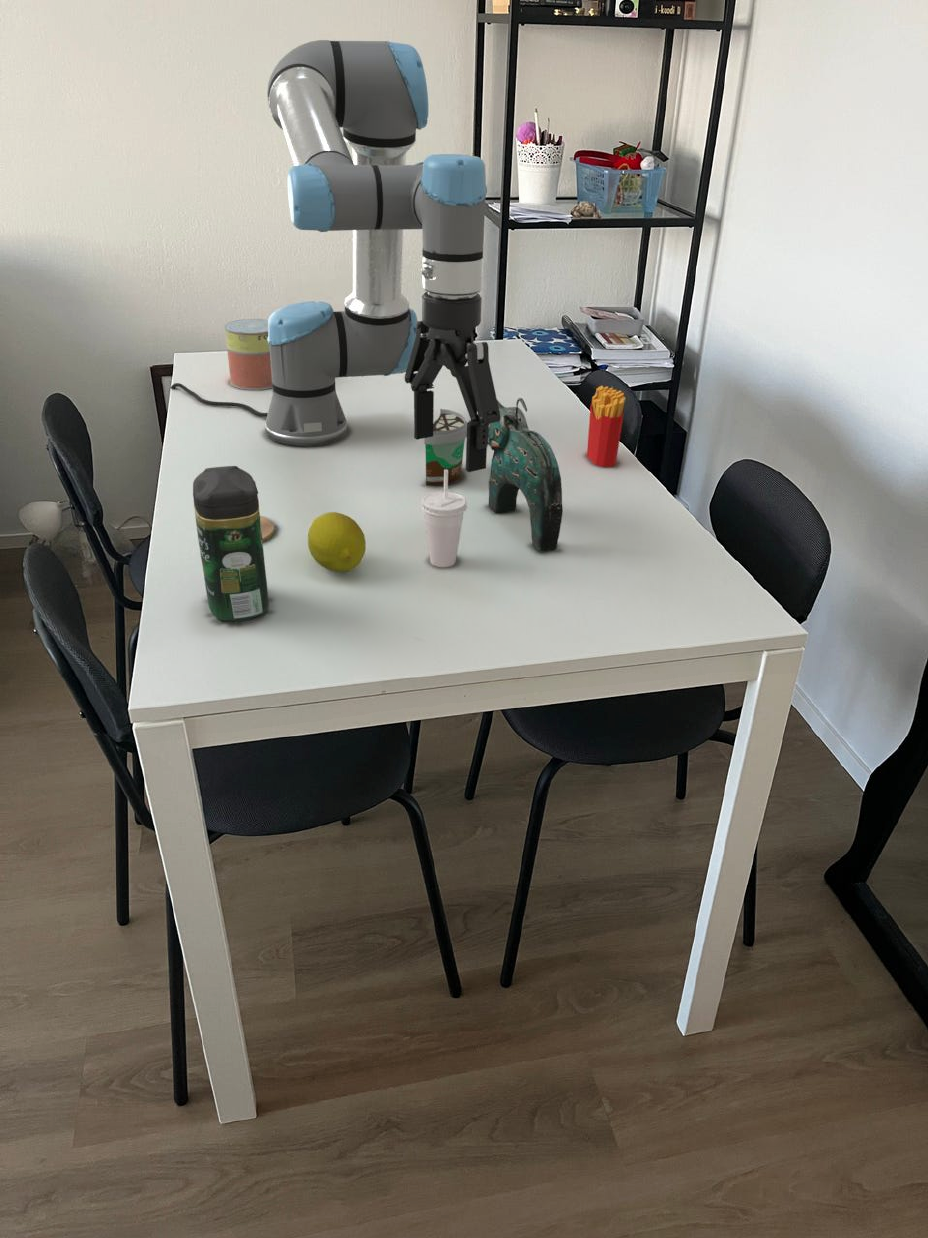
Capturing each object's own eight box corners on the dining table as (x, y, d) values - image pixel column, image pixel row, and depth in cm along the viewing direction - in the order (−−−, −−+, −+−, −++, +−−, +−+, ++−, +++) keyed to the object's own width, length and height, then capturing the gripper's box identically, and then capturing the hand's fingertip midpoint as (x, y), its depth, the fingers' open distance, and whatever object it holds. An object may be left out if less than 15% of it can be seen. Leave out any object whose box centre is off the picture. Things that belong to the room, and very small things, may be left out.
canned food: (278, 390, 200) (273, 333, 194) (224, 389, 200) (218, 331, 194) (287, 374, 210) (283, 319, 203) (236, 372, 210) (231, 317, 203)
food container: (459, 492, 158) (461, 435, 153) (424, 488, 159) (424, 432, 154) (473, 465, 169) (475, 411, 163) (440, 461, 170) (441, 407, 164)
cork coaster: (198, 525, 145) (197, 522, 145) (259, 512, 150) (259, 509, 149) (221, 552, 138) (220, 548, 138) (285, 537, 142) (284, 534, 142)
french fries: (581, 451, 176) (588, 383, 169) (603, 450, 177) (611, 381, 170) (600, 470, 168) (608, 399, 161) (622, 469, 169) (631, 398, 162)
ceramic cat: (478, 503, 155) (482, 383, 144) (513, 497, 157) (520, 379, 147) (532, 557, 140) (542, 427, 129) (571, 550, 142) (583, 422, 131)
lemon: (373, 580, 132) (372, 528, 128) (318, 588, 130) (315, 536, 126) (355, 546, 141) (353, 496, 137) (303, 552, 139) (299, 502, 134)
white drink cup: (470, 555, 139) (474, 466, 132) (456, 575, 134) (459, 483, 127) (430, 547, 141) (431, 459, 134) (414, 566, 136) (414, 476, 128)
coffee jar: (204, 591, 128) (187, 463, 118) (263, 584, 130) (251, 457, 121) (210, 628, 120) (192, 494, 111) (273, 619, 123) (261, 487, 113)
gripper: (378, 275, 125) (381, 429, 136) (481, 317, 108) (475, 490, 119) (427, 271, 129) (426, 421, 140) (534, 310, 111) (524, 478, 122)
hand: (448, 453), depth 129 cm, fingers open, 13 cm apart
